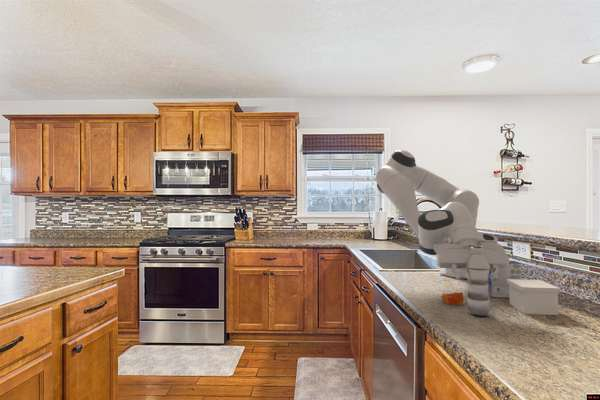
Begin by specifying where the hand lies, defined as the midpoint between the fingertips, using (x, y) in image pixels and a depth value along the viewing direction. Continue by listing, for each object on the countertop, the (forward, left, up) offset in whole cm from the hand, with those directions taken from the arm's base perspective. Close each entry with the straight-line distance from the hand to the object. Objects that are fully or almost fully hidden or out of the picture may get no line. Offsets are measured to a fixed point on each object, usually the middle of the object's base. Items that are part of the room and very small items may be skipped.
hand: (477, 279), depth 93 cm
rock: (-12, -4, -11) cm, 17 cm away
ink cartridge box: (-22, +16, -11) cm, 29 cm away
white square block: (-8, +18, -10) cm, 22 cm away
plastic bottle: (-1, 0, -11) cm, 11 cm away
